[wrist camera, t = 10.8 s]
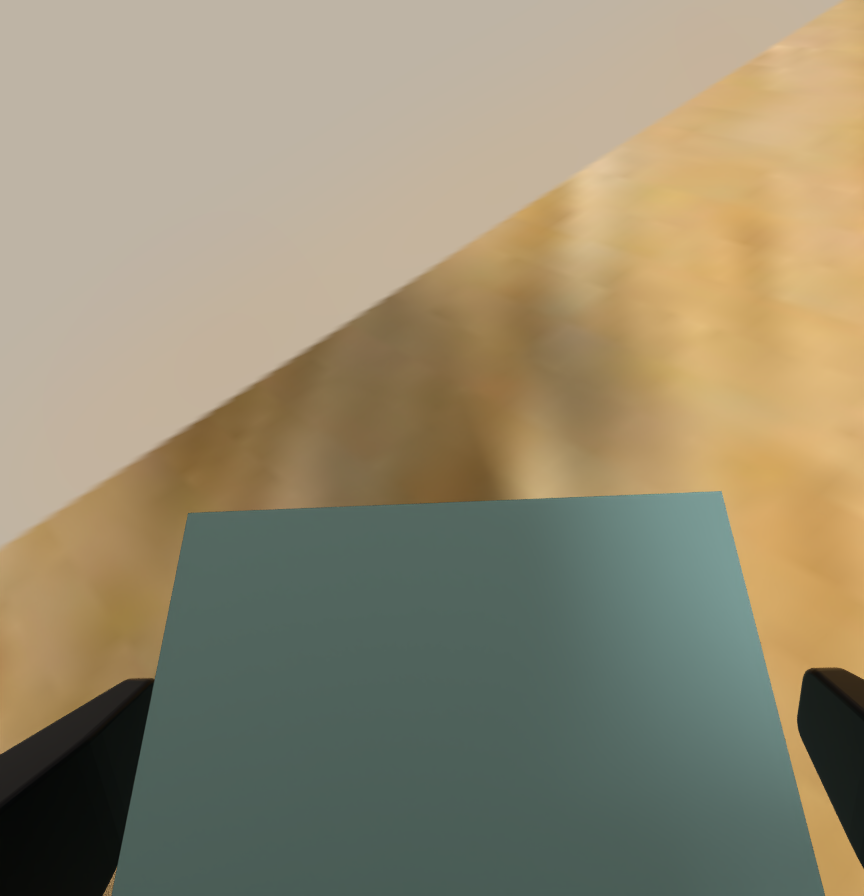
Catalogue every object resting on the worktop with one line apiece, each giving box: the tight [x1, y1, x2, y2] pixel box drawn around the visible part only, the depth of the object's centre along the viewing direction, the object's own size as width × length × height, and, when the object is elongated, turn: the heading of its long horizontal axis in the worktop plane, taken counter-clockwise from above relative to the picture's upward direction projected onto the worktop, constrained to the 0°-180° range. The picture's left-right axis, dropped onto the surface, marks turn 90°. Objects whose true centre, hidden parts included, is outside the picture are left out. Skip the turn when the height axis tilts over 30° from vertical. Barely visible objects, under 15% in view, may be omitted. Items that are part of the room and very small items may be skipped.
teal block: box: [112, 491, 825, 896], centre depth 10 cm, size 5×5×13 cm
